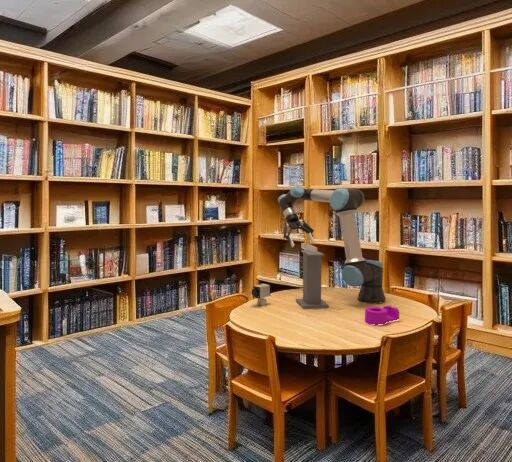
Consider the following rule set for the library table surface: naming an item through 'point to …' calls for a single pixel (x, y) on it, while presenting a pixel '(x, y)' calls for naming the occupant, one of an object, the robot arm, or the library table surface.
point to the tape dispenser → (381, 314)
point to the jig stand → (312, 281)
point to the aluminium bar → (309, 248)
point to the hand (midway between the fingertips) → (303, 244)
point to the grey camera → (261, 293)
